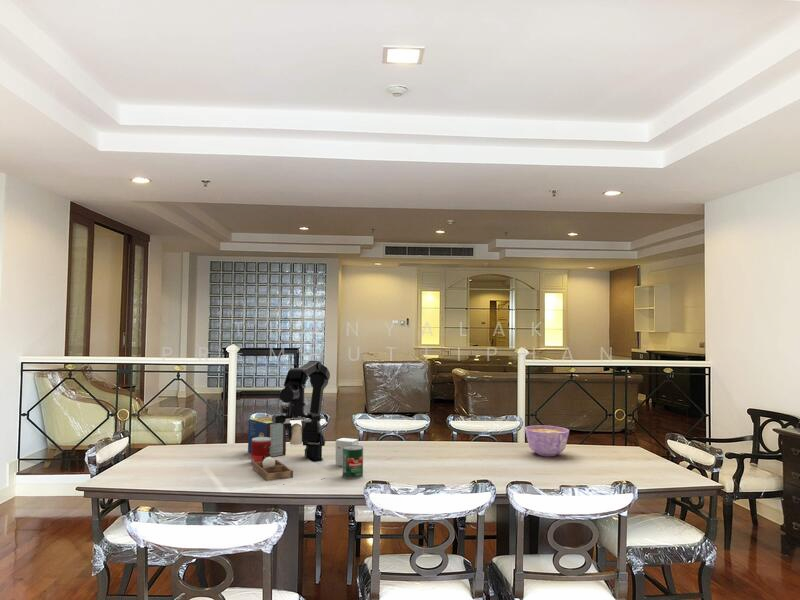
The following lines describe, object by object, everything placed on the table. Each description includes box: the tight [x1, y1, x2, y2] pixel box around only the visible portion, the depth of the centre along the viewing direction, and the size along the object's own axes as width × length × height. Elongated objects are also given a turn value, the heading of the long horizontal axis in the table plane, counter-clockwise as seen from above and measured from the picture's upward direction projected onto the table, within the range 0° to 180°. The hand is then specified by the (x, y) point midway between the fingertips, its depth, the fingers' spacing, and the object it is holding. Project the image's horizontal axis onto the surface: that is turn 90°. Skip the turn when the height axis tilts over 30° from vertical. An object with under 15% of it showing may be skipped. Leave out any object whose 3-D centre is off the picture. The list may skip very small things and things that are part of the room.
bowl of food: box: [524, 424, 570, 457], centre depth 256 cm, size 20×20×12 cm
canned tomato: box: [342, 444, 364, 480], centre depth 215 cm, size 8×8×11 cm
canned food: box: [250, 437, 271, 465], centre depth 229 cm, size 8×8×11 cm
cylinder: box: [289, 423, 303, 446], centre depth 222 cm, size 5×5×8 cm
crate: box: [252, 459, 294, 482], centre depth 213 cm, size 10×20×4 cm, turn 29°
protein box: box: [247, 416, 287, 458], centre depth 251 cm, size 10×15×16 cm
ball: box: [262, 457, 276, 468], centre depth 217 cm, size 5×5×5 cm
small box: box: [335, 437, 359, 467], centre depth 232 cm, size 8×6×10 cm
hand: (295, 439), depth 221 cm, fingers closed on cylinder, 5 cm apart
